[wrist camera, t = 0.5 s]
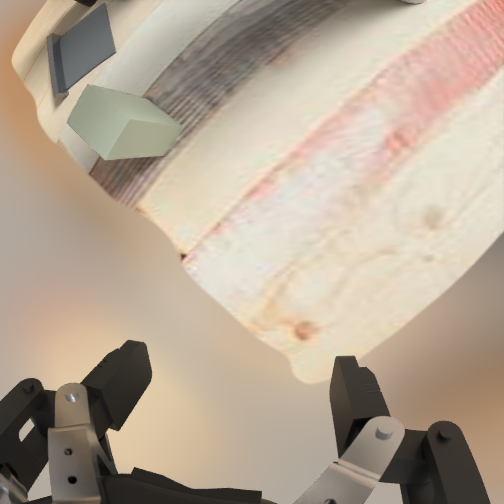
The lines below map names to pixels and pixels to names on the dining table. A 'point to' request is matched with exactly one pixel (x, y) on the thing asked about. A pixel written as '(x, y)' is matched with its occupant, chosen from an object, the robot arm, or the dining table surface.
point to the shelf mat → (86, 45)
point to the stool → (86, 2)
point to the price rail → (56, 66)
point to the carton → (122, 124)
